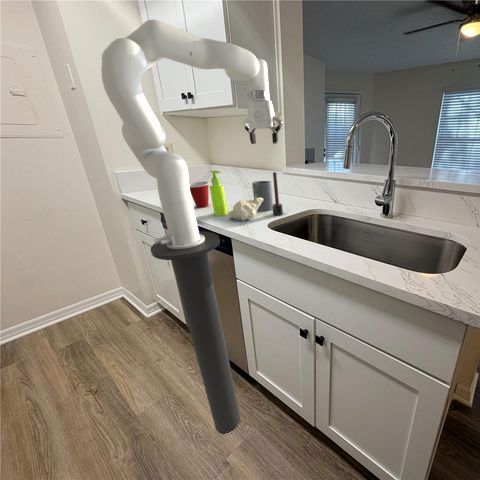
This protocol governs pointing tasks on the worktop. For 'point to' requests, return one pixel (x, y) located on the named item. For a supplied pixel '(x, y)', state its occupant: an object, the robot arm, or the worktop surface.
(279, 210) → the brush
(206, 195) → the plastic cup
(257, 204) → the cream spiral shell
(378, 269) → the worktop surface
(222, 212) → the soap dispenser
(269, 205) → the gray cup
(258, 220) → the worktop surface
